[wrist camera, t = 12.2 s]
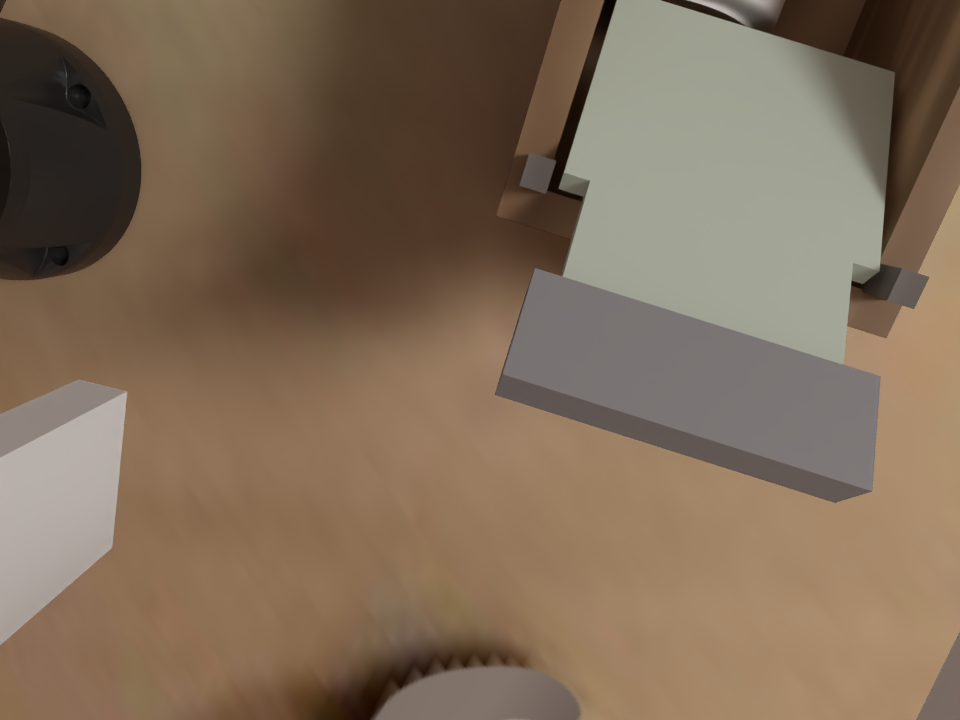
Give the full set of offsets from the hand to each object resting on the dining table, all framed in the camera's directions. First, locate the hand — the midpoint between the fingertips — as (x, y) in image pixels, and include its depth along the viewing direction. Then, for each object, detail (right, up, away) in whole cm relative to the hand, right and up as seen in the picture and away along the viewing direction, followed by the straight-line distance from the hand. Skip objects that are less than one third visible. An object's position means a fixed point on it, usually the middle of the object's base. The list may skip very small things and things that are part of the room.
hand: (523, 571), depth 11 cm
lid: (+8, +8, +16) cm, 20 cm away
